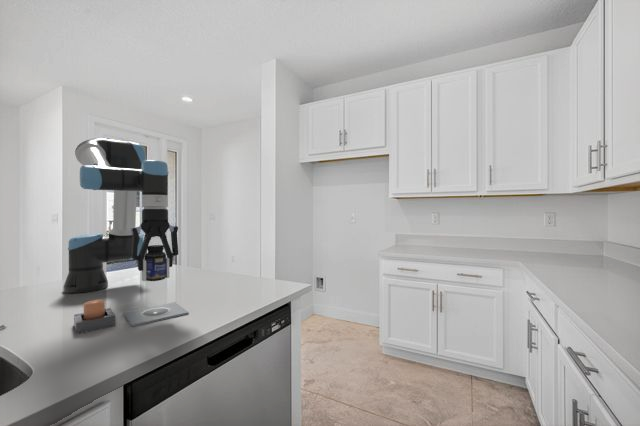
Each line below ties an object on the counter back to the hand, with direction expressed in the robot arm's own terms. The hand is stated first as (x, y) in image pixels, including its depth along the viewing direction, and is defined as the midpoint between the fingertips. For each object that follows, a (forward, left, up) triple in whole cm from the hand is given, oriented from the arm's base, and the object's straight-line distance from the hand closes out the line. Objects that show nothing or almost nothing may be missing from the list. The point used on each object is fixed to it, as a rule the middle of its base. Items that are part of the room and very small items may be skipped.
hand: (155, 278), depth 98 cm
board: (0, 0, -12) cm, 12 cm away
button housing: (-2, -16, -12) cm, 20 cm away
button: (-2, -16, -10) cm, 19 cm away
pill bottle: (0, 0, -1) cm, 1 cm away
